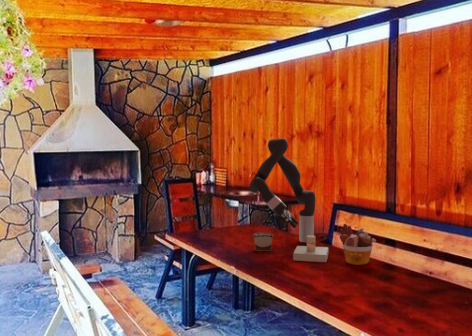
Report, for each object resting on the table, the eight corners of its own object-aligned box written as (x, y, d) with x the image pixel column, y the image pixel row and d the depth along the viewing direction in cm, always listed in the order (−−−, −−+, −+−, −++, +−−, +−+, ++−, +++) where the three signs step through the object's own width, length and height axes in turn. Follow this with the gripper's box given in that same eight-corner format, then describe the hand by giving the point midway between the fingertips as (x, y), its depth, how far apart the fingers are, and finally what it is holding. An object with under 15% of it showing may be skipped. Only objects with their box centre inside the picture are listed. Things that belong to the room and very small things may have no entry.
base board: (297, 252, 283) (297, 245, 283) (328, 254, 278) (328, 247, 278) (293, 260, 265) (293, 253, 265) (326, 262, 261) (326, 254, 261)
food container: (273, 248, 293) (273, 232, 293) (273, 250, 287) (273, 234, 287) (253, 248, 295) (253, 232, 294) (253, 250, 289) (252, 234, 288)
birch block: (307, 249, 274) (307, 235, 274) (315, 249, 273) (315, 235, 273) (306, 250, 270) (306, 236, 269) (314, 251, 269) (314, 237, 268)
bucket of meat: (381, 264, 256) (381, 227, 255) (359, 269, 247) (360, 230, 246) (353, 256, 273) (353, 221, 272) (332, 260, 264) (332, 224, 263)
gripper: (279, 202, 267) (299, 223, 265) (283, 199, 281) (302, 219, 279) (269, 211, 269) (290, 232, 267) (274, 207, 283) (293, 227, 280)
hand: (296, 225), depth 273 cm, fingers open, 8 cm apart
